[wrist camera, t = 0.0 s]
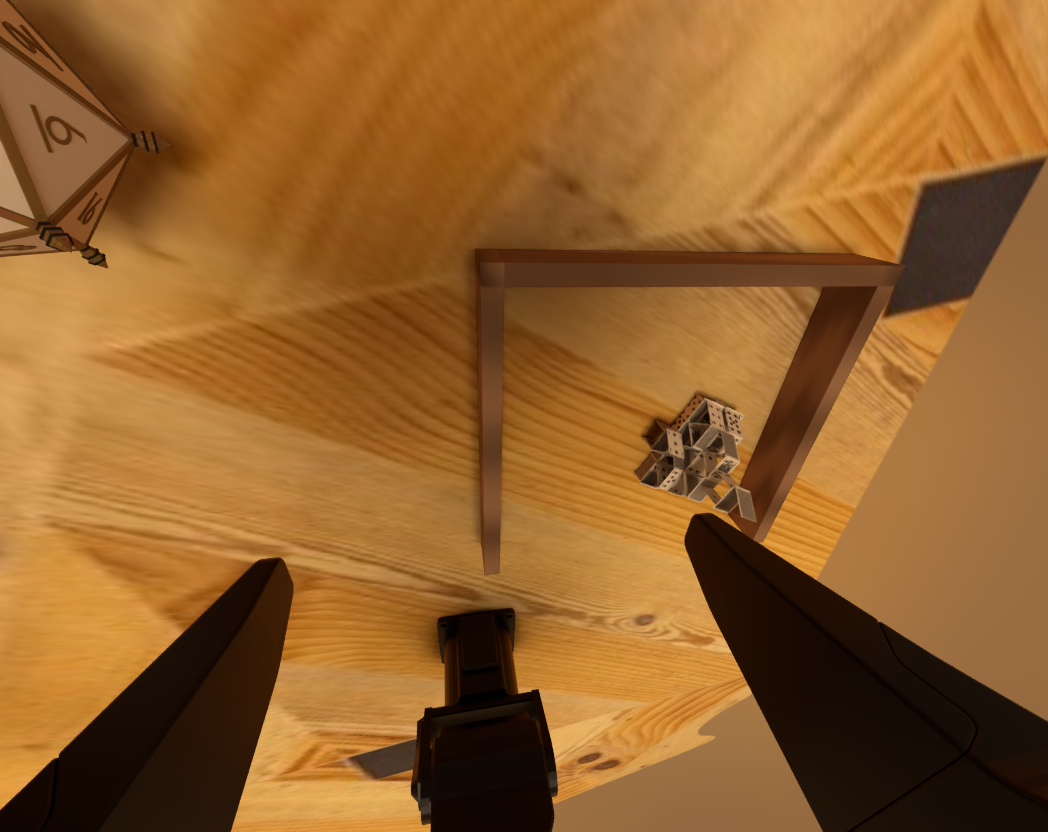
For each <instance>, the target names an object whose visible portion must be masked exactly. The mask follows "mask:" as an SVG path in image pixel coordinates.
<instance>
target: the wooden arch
mask: <svg viewBox="0 0 1048 832" xmlns="http://www.w3.org/2000/svg"><path fill="white" fill-rule="evenodd" d="M475 261H476V312H477V363H478V414H479V464H480V515H481V545H482V555H483V564H484V574H485V575H492V574H500V516H501V455H502V394H503V333H504V287H804V286H825V287H824V289H823V292H822V294H821V296H820V299H819V301H818V303H817V306H816V308H815V311H814V313H813V315H812V318H811V320H810V322H809V325H808V327H807V329H806V332H805V334H804V336H803V339H802V341H801V343H800V346H799V348H798V351H797V353H796V355H795V358H794V360H793V362H792V365H791V367H790V369H789V372H788V374H787V376H786V379H785V381H784V384H783V386H782V388H781V391H780V393H779V395H778V398H777V400H776V402H775V405H774V407H773V409H772V412H771V414H770V417H769V419H768V421H767V424H766V426H765V428H764V431H763V433H762V435H761V438H760V440H759V442H758V445H757V447H756V449H755V452H754V454H753V457H752V459H751V461H750V464H749V466H748V468H747V471H746V473H745V475H744V478H743V480H742V482H741V485H740V487H741V488H743V489H745V490H748V491H750V493H751V498H752V503H753V507H754V512H755V517H756V522H754V521H751V520H748V519H746V518H743V517H741V514H740V509H739V503H738V504H737V505H736V506H735V507H734V509H733V510H732V511H731V512H730V513H728V515H729V516H730V518H731V519H732V520H733V521H734V523H735V524H736V525H737V526H738V527H739V529H740V530H741V531H742V532H743V533H744V534H745V535H747V536H748V537H750V538H751V539H753V540H755V541H756V542H758V543H759V542H763V541H764V539H765V538H766V536H767V534H768V532H769V530H770V528H771V526H772V524H773V522H774V520H775V518H776V516H777V514H778V512H779V510H780V508H781V506H782V504H783V502H784V501H785V499H786V497H787V495H788V493H789V491H790V489H791V487H792V485H793V483H794V481H795V479H796V477H797V475H798V473H799V471H800V469H801V467H802V465H803V464H804V462H805V460H806V458H807V456H808V454H809V452H810V450H811V448H812V446H813V444H814V442H815V440H816V438H817V436H818V434H819V432H820V430H821V428H822V426H823V425H824V423H825V421H826V419H827V417H828V415H829V413H830V411H831V409H832V407H833V405H834V403H835V401H836V399H837V397H838V395H839V393H840V391H841V389H842V388H843V386H844V384H845V382H846V380H847V378H848V376H849V374H850V372H851V370H852V368H853V366H854V364H855V362H856V360H857V358H858V356H859V354H860V352H861V351H862V349H863V347H864V345H865V343H866V341H867V339H868V337H869V335H870V333H871V331H872V329H873V327H874V325H875V323H876V321H877V319H878V317H879V315H880V314H881V312H882V310H883V308H884V306H885V304H886V302H887V300H888V298H889V296H890V294H891V292H892V290H893V288H894V286H895V284H896V282H897V280H898V278H899V277H900V275H901V273H902V271H903V269H904V267H905V266H904V265H899V264H895V263H891V262H887V261H882V260H878V259H874V258H870V257H865V256H861V255H857V254H827V253H751V252H675V251H598V250H522V249H475Z"/></svg>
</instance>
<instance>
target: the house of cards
mask: <svg viewBox="0 0 1048 832" xmlns="http://www.w3.org/2000/svg"><path fill="white" fill-rule="evenodd" d="M696 394H697V393H696ZM744 416H745V415H743V414H741V413H739V412H737V411H735V410H733V409H731V408H729V407H727V406H726V405H725V404H724V403H723V402H722V401H721V400H718V399H717V398H716V399H715V400H714V401H711V400H709V399H707V398H705V397H703V396H701V395H699V394H697V395H696V396H695V397H694V399H693V400H692V401H691V403H690V404H689V405H688V406H687V408H686V409H685V410H684V411H683V413H682V414H681V415H680V416H679V418H678V419H677V420H676V421H675V423H674V424H673V425H672V426H671V428H670V427H669V425H667V424H664V423H662V422H660V421H657V420H655V419H654V420H655V421H656V422H657V423H658V425H659V426H660V427H661V428H662V429H663V431H664V433H663V434H662V435H661V437H660V438H659V439H658V440H657V442H656V441H654V440H651V439H649V438H646V437H644V436H642V437H643V438H644V440H645V441H646V442H647V444H648V445H649V446H650V448H651V449H650V450H653V453H652V454H651V453H650V454H649V455H648V457H647V458H646V459H645V460H644V462H643V463H642V464H641V466H640V467H639V468H638V469H637V471H634V472H635V473H636V475H637V477H638V478H639V480H640V482H639V483H640V484H643V485H646V486H649V487H652V488H655V489H658V488H659V489H662V490H665V491H667V492H669V493H672V494H675V495H678V496H681V495H684V496H686V498H688V499H691V500H694V501H697V502H700V503H702V501H703V500H704V499H705V498H706V497H707V496H709V497H710V498H711V499H712V501H713V502H714V503H715V504H716V505H715V506H714V507H713V508H714V509H717V510H720V511H723V512H725V513H730V512H731V511H732V510H733V509H734V507H735V506H736V505H737V504H738V503H739V509H740V514H741V517H743V518H746V519H748V520H751V521H754V522H756V517H755V512H754V507H753V503H752V498H751V493H750V491H748V490H745V489H743V488H741V487H740V486H739V485H738V484H737V483H736V482H735V481H734V480H733V479H732V477H731V476H730V475H729V474H730V473H731V472H732V471H733V470H734V469H735V468H736V466H737V465H738V464H739V463H740V462H741V461H740V459H739V455H738V450H737V445H738V444H739V443H740V442H741V441H742V439H743V435H742V430H741V426H740V421H741V420H742V419H743V417H744ZM717 458H722V459H723V460H722V461H721V462H720V463H719V464H718V461H717ZM704 469H705V470H706V476H707V477H705V474H704ZM723 480H725V481H726V483H727V484H728V485H729V486H730V487H731V489H730V490H729V491H728V492H727V493H726V494H725V495H724V497H723V498H722V499H721V497H720V496H719V495H718V494H717V493H716V491H715V490H714V488H715V487H716V486H717V485H718V484H719V483H722V482H723ZM684 496H683V497H684Z"/></svg>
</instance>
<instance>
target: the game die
mask: <svg viewBox="0 0 1048 832" xmlns="http://www.w3.org/2000/svg"><path fill="white" fill-rule="evenodd" d="M141 132H142V133H137V134H134V133H131V132H130V131H129V130H128V129H127V128H126V127H125V126H124V125H123V124H122V123H121V122H120V120H119V119H118V118H117V117H116V116H115V115H114V114H113V113H112V112H111V111H110V109H109V108H108V107H107V106H106V105H105V104H104V103H103V102H102V101H101V100H100V99H99V97H98V96H97V95H96V94H95V93H94V92H93V91H92V90H91V89H90V88H89V86H88V85H87V84H86V83H85V82H84V81H83V80H82V79H81V78H80V77H79V76H78V74H77V73H76V72H75V71H74V70H73V69H72V68H71V67H70V66H69V65H68V63H67V62H66V61H65V60H64V59H63V58H62V57H61V56H60V55H59V54H58V53H57V51H56V50H55V49H54V48H53V47H52V46H51V45H50V44H49V43H48V42H47V41H46V39H45V38H44V37H43V36H42V35H41V34H40V33H39V32H38V31H37V30H36V28H35V27H34V26H33V25H32V24H31V23H30V22H29V21H28V20H27V19H26V18H25V16H24V15H23V14H22V13H21V12H20V11H19V10H18V9H17V8H16V7H15V5H14V4H13V3H12V2H11V1H10V0H0V257H7V256H19V255H31V254H43V253H56V252H72V251H80V252H81V254H82V255H83V256H82V257H83V258H85V259H87V260H88V261H89V262H88V263H89V264H92V265H95V266H96V265H99V266H102V267H105V268H108V266H107V263H106V258H105V254H101V253H100V252H99V249H97V248H95V249H94V248H92V247H91V246H89V245H88V244H89V242H90V240H91V238H92V236H93V234H94V231H95V229H96V227H97V225H98V223H99V221H100V219H101V217H102V215H103V213H104V211H105V208H106V206H107V204H108V202H109V200H110V198H111V196H112V194H113V192H114V190H115V188H116V185H117V183H118V181H119V179H120V177H121V175H122V173H123V171H124V169H125V167H126V165H127V162H128V160H129V158H130V156H131V154H132V152H133V150H134V148H135V147H137V146H139V147H142V148H144V149H146V150H147V151H149V150H154V151H156V152H157V153H159V151H160V150H162V149H163V148H165V147H167V146H169V145H171V144H170V143H168V142H166V141H165V140H163V139H161V138H160V137H158V136H156V135H155V134H154V133H153V132H151V133H144V131H141Z"/></svg>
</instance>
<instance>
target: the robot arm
mask: <svg viewBox="0 0 1048 832" xmlns="http://www.w3.org/2000/svg"><path fill="white" fill-rule="evenodd" d="M684 542H685V547H686V550H687V553H688V555H689V558H690V561H691V563H692V566H693V568H694V571H695V573H696V576H697V578H698V581H699V583H700V586H701V589H702V591H703V594H704V596H705V599H706V601H707V603H708V606H709V608H710V610H711V612H712V614H713V617H714V619H715V621H716V623H717V625H718V627H719V628H720V630H721V632H722V634H723V636H724V638H725V640H726V642H727V644H728V646H729V648H730V650H731V652H732V654H733V656H734V658H735V660H736V662H737V664H738V666H739V668H740V670H741V672H742V674H743V676H744V678H745V680H746V682H747V683H748V685H749V687H750V689H751V691H752V693H753V695H754V697H755V699H756V701H757V703H758V705H759V707H760V709H761V711H762V713H763V715H764V717H765V719H766V721H767V723H768V725H769V727H770V729H771V731H772V733H773V734H774V737H775V738H776V740H777V742H778V744H779V746H780V748H781V750H782V752H783V754H784V756H785V758H786V760H787V762H788V764H789V766H790V768H791V770H792V772H793V774H794V776H795V778H796V780H797V782H798V784H799V786H800V788H801V790H802V791H803V793H804V795H805V797H806V799H807V801H808V803H809V805H810V807H811V809H812V811H813V813H814V815H815V817H816V819H817V821H818V823H819V825H820V827H821V829H822V831H823V832H1048V721H1046V720H1044V719H1043V718H1041V717H1039V716H1037V715H1036V714H1034V713H1032V712H1030V711H1029V710H1027V709H1025V708H1023V707H1022V706H1020V705H1018V704H1016V703H1015V702H1013V701H1011V700H1010V699H1008V698H1006V697H1004V696H1002V695H1001V694H999V693H997V692H996V691H994V690H992V689H990V688H989V687H987V686H985V685H983V684H982V683H980V682H978V681H976V680H975V679H973V678H971V677H970V676H968V675H966V674H965V673H963V672H961V671H959V670H958V669H956V668H954V667H953V666H951V665H949V664H948V663H946V662H944V661H942V660H941V659H939V658H938V657H936V656H934V655H933V654H931V653H929V652H928V651H926V650H925V649H923V648H921V647H920V646H918V645H917V644H915V643H913V642H912V641H910V640H909V639H907V638H905V637H904V636H902V635H901V634H899V633H897V632H896V631H894V630H893V629H891V628H890V627H888V626H887V625H885V624H883V623H882V622H878V621H877V619H876V618H874V617H873V616H871V615H869V614H868V613H866V612H865V611H863V610H862V609H860V608H858V607H857V606H855V605H854V604H852V603H851V602H849V601H848V600H846V599H845V598H843V597H841V596H840V595H838V594H837V593H835V592H834V591H832V590H831V589H829V588H827V587H826V586H824V585H823V584H821V583H820V582H818V581H817V580H815V579H814V578H812V577H810V576H809V575H807V574H806V573H804V572H803V571H801V570H800V569H798V568H797V567H795V566H793V565H792V564H790V563H789V562H787V561H786V560H784V559H783V558H781V557H779V556H778V555H776V554H775V553H773V552H772V551H770V550H769V549H767V548H765V547H764V546H762V545H761V544H759V543H758V542H756V541H755V540H753V539H751V538H750V537H748V536H747V535H745V534H744V533H742V532H741V531H739V530H738V529H736V528H734V527H733V526H731V525H730V524H728V523H727V522H725V521H724V520H722V519H720V518H719V517H717V516H716V515H714V514H712V513H701V514H695V515H694V516H693V517H692V518H691V521H690V524H689V527H688V529H687V532H686V535H685V540H684ZM292 598H293V582H292V579H291V577H290V574H289V572H288V569H287V567H286V564H285V562H284V560H283V559H282V558H279V557H277V558H267V559H260V560H258V561H257V562H255V563H254V564H253V565H252V566H251V567H250V568H249V569H248V570H247V571H246V572H245V573H244V574H243V575H242V576H241V577H240V578H239V579H238V580H237V581H236V582H235V583H234V584H233V585H232V586H230V587H229V588H228V589H227V590H226V591H225V592H224V593H223V594H222V595H221V596H220V597H219V598H218V599H217V600H216V601H215V602H214V603H213V604H212V605H211V606H210V607H209V608H208V609H207V610H206V611H205V612H204V613H203V614H202V615H201V616H200V617H199V618H198V619H197V620H196V621H195V622H194V623H193V624H191V625H190V626H189V627H188V628H187V629H186V630H185V631H184V632H183V633H182V634H181V635H180V636H179V637H178V638H177V639H176V640H175V641H174V642H173V643H172V644H171V645H170V646H169V647H168V648H167V649H166V650H165V651H164V652H163V653H162V654H161V655H160V656H159V657H158V658H157V659H156V660H155V661H153V662H152V663H151V664H150V665H149V666H148V667H147V668H146V669H145V670H144V671H143V672H142V673H141V674H140V675H139V676H138V677H137V678H136V679H135V680H134V681H133V682H132V683H131V684H130V685H129V686H128V687H127V688H126V689H125V690H124V691H123V692H122V693H121V694H120V695H119V696H118V697H117V698H115V699H114V700H113V701H112V702H111V703H110V704H109V705H108V706H107V707H106V708H105V709H104V710H103V711H102V712H101V713H100V714H99V715H98V716H97V717H96V718H95V719H94V720H93V721H92V722H91V723H90V724H89V725H88V726H87V727H86V728H85V729H84V730H83V731H82V732H81V733H80V734H79V735H77V736H76V737H75V738H74V739H73V740H72V741H71V742H70V743H69V744H68V745H67V746H66V747H65V748H64V749H63V750H62V751H61V752H60V754H59V758H55V759H53V760H52V761H51V762H50V763H48V764H47V765H46V766H45V767H44V768H43V769H42V770H41V771H40V772H39V773H38V774H37V775H36V776H35V777H34V778H33V779H32V780H31V781H30V782H29V783H28V784H27V785H26V786H25V787H24V788H23V789H22V790H21V791H20V792H19V793H18V794H16V795H15V796H14V797H13V798H12V799H11V800H10V801H9V802H8V803H7V804H6V805H5V806H4V807H3V808H2V809H1V810H0V832H231V829H232V826H233V823H234V819H235V816H236V813H237V809H238V806H239V803H240V799H241V796H242V793H243V789H244V786H245V783H246V779H247V776H248V773H249V769H250V766H251V763H252V759H253V756H254V753H255V749H256V746H257V743H258V739H259V736H260V733H261V729H262V726H263V723H264V719H265V716H266V713H267V709H268V706H269V703H270V699H271V696H272V693H273V689H274V686H275V682H276V679H277V675H278V671H279V666H280V662H281V657H282V651H283V646H284V641H285V635H286V630H287V624H288V619H289V614H290V608H291V603H292ZM437 627H438V635H439V644H440V652H441V660H442V663H444V664H445V706H444V707H438V708H432V707H429V708H425V712H424V717H423V718H422V719H420V720H419V721H417V741H416V753H415V760H414V768H413V775H412V782H411V795H412V796H413V798H414V799H415V800H416V801H417V802H418V807H419V811H421V822H422V825H426V824H431V832H552V828H553V823H554V809H553V802H552V797H556V796H557V793H558V784H557V772H556V764H555V758H554V752H553V747H552V742H551V738H550V734H549V730H548V726H547V722H546V718H545V714H544V710H543V706H542V701H541V697H540V693H539V690H538V689H536V690H532V691H531V692H526V693H520V694H518V687H517V680H516V673H515V666H514V659H513V649H514V630H515V611H514V609H502V610H495V611H487V612H480V613H472V614H465V615H457V616H450V617H443V618H440V619H439V620H438V622H437Z"/></svg>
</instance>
